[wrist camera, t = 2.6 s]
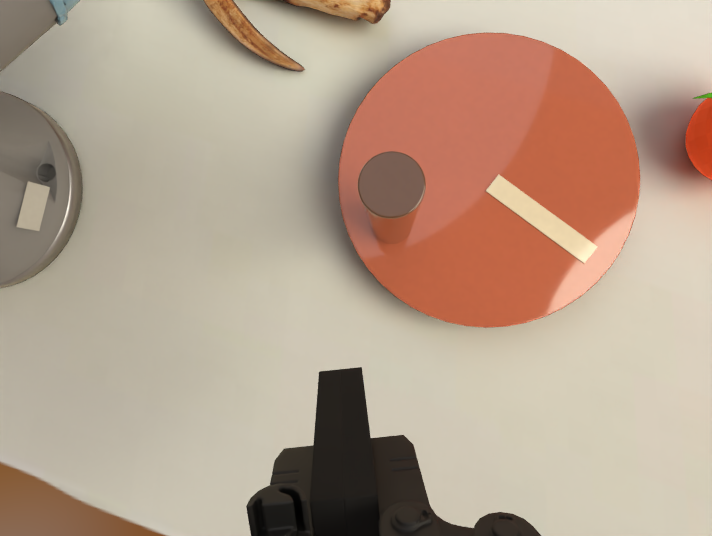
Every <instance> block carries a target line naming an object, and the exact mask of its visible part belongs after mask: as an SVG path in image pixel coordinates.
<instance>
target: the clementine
mask: <svg viewBox="0 0 712 536" xmlns="http://www.w3.org/2000/svg"><path fill="white" fill-rule="evenodd" d="M697 98H707V99H705V100H704V101H703V102H702V103H701V104H700V105H699V106H698V108H697V109H696V111H695V113H694V114H693V116H692V117H691V120H690V122H689V125H688V128H687V131H686V145H685V146H686V149H687V153H688V157H689V158H690V160H691V162H692V164H693V165H694V167H695V168H696V169H697V170H698V171H699V172H700V173H701V174H702V175H704V176H705V177H707V178H709V179H711V180H712V93H708V94H705V95H702V96H699V97H695V98H693V99H697Z"/></svg>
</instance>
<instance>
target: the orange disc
mask: <svg viewBox="0 0 712 536" xmlns="http://www.w3.org/2000/svg"><path fill="white" fill-rule="evenodd" d="M639 187H640V170H639V158H638V153H637V149H636V144H635V140H634V136H633V134H632V131H631V128H630V126H629V123H628V120H627V118H626V116H625V114H624V112H623V111H622V109H621V107H620V105H619V103H618V102H617V100H616V99H615V97H614V96H613V95H612V93H611V92H610V91H609V89H608V88H607V86H606V85H605V84H604V83H603V82H602V81H601V80H600V79H599V78H598V77H597V76H596V75H595V74H594V73H593V72H592V71H591V70H590V69H588V68H587V67H586V66H585V65H583V64H582V63H581V62H580V61H578V60H577V59H575V58H574V57H572V56H570V55H569V54H567V53H565V52H564V51H562V50H560V49H558V48H556V47H554V46H551V45H549V44H547V43H544V42H542V41H538V40H535V39H532V38H528V37H525V36H519V35H513V34H506V33H476V34H466V35H461V36H457V37H453V38H448V39H445V40H442V41H439V42H437V43H434V44H431V45H428V46H426V47H425V48H423V49H421V50H419V51H417V52H415V53H413V54H411V55H409V56H408V57H407V58H405V59H404V60H402V61H401V62H399V63H398V64H396V65H395V66H394V67H393V68H392V69H390V70H389V71H388V72H387V73H386V74H385V75H384V76H383V77H381V78H380V80H379V81H378V82H377V83H376V84H375V85H374V86H373V88H372V89H371V90H370V91H369V92H368V94H367V95H366V97H365V98H364V100H363V101H362V103H361V104H360V106H359V107H358V109H357V111H356V113H355V115H354V117H353V119H352V121H351V123H350V125H349V128H348V131H347V133H346V136H345V139H344V142H343V146H342V151H341V156H340V161H339V174H338V188H339V201H340V206H341V211H342V216H343V220H344V223H345V226H346V229H347V232H348V235H349V237H350V239H351V241H352V243H353V245H354V247H355V250H356V252H357V253H358V255H359V256H360V258H361V259H362V261H363V262H364V264H365V265H366V267H367V268H368V270H369V271H370V272H371V273H372V274H373V275H374V277H375V278H376V279H377V280H378V281H379V282H380V283H381V284H382V285H383V286H384V287H385V288H386V289H387V290H389V291H390V292H391V293H392V294H393V295H394V296H395V297H397V298H398V299H400V300H401V301H403V302H404V303H406V304H407V305H409V306H410V307H412V308H414V309H416V310H418V311H420V312H422V313H424V314H426V315H428V316H431V317H434V318H437V319H440V320H443V321H445V322H449V323H454V324H459V325H464V326H472V327H485V328H488V327H506V326H512V325H517V324H522V323H527V322H530V321H533V320H536V319H539V318H542V317H545V316H547V315H550V314H552V313H554V312H556V311H558V310H560V309H562V308H564V307H566V306H567V305H569V304H570V303H572V302H573V301H575V300H576V299H578V298H579V297H581V296H582V295H583V294H584V293H585V292H587V291H588V290H589V289H590V288H591V287H592V286H594V285H595V284H596V283H597V282H598V280H599V279H600V278H601V277H602V276H603V275H604V274H605V273H606V272H607V270H608V269H609V268H610V266H611V265H612V264H613V262H614V261H615V259H616V258H617V256H618V255H619V253H620V251H621V249H622V247H623V245H624V243H625V241H626V239H627V237H628V235H629V233H630V230H631V227H632V224H633V221H634V218H635V214H636V209H637V204H638V199H639Z"/></svg>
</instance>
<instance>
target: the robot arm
mask: <svg viewBox="0 0 712 536" xmlns="http://www.w3.org/2000/svg"><path fill="white" fill-rule="evenodd" d="M79 1H80V0H0V72H1V71H2V70H3V69H4V68H5V67H7V66H8V65H9V64H10V63H11V62H12V61H13V60H15V59H16V58H17V57H18V56H19V55H20V54H21V53H23V52H24V51H25V50H26V49H27V48H28V47H29V46H31V45H32V44H33V43H34V42H35V41H36V40H37V39H39V38H40V37H41V36H42V35H43V34H44V33H45V32H47V31H48V30H49V29H50V28H51V27H52V26H53V25H55V24H56V23H57V24H59V25H62V24H63V23H64V22H66V20H67V13H68V12H69V11H70V10H71V9H72V8H73V7H74V6H75V5H76V4H77V3H78V2H79ZM81 201H82V176H81V170H80V165H79V161H78V158H77V155H76V152H75V150H74V148H73V146H72V144H71V142H70V140H69V138H68V137H67V135H66V134H65V132H64V131H63V130H62V128H61V127H60V126H59V125H58V124H57V123H56V122H55V121H54V120H53V119H52V118H51V117H50V116H49V115H48V114H46V113H45V112H43V111H42V110H41V109H39V108H37V107H35V106H34V105H32V104H30V103H28V102H26V101H24V100H22V99H20V98H17V97H15V96H13V95H10V94H7V93H4V92H0V288H3V287H8V286H12V285H15V284H18V283H20V282H23V281H25V280H27V279H29V278H31V277H33V276H34V275H36V274H37V273H39V272H40V271H42V270H43V269H44V268H45V267H47V266H48V265H49V264H50V263H51V262H52V261H53V260H54V259H55V258H56V257H57V256H58V255H59V253H60V252H61V251H62V249H63V248H64V247H65V245H66V244H67V242H68V240H69V238H70V237H71V235H72V233H73V230H74V228H75V226H76V223H77V220H78V217H79V212H80V208H81ZM272 474H273V475H272V477H271V482H270V486H267V487H266V488H264V489H262V490H260V491H258V492H257V493H256V494H255V495H254V496H253V497H251V499H250V501H249V502H248V504H247V506H246V507H247V513H248V519H249V525H250V531H251V536H541V535H540V534H539V533H538V532H537V530H536V529H535V528H534V527H533V526H532V525H531V524H529V523H528V522H527V521H526V520H525V519H523V518H521V517H518V516H516V515H514V514H510V513H503V512H498V513H491V514H487V515H486V516H484V517H482V518H480V519H479V520H478V522H477V523H476V524H475V527H474V528H468V527H461V526H457V525H453V524H450V523H448V522H446V521H443V520H442V519H441V518H439V517H438V516H437V515H436V514H435V513H434V511H433V510H432V509H431V507H430V505H429V501H428V497H427V494H426V490H425V486H424V483H423V479H422V475H421V472H420V468H419V464H418V461H417V458H416V453H415V449H414V446H413V444H412V443H411V442H410V441H409V440H408V439H407V438H406V437H405V436H404V435H399V436H389V437H380V438H370V431H369V423H368V415H367V407H366V399H365V391H364V383H363V375H362V367H360V368H350V369H340V370H331V371H321V372H319V382H318V395H317V408H316V422H315V435H314V446H306V447H296V448H287V449H284V450H283V451H282V452H281V453H280V455H279V456H278V457H277V458H276V460H275V462H274V467H273V472H272Z"/></svg>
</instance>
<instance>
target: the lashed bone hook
mask: <svg viewBox="0 0 712 536" xmlns="http://www.w3.org/2000/svg"><path fill="white" fill-rule="evenodd" d="M203 1H204V2H205V4H206V5H207V7H208V8H209V9H210V11H211V12H212V13H213V14H214V16H215V17H216V18H217V19H218V21H219V22H220V23H221V24H222V25H223V26H224V27H225V28H226V29H227V30H228V31H229V33H230V34H231V35H232V36H233V37H234V38H236V39H237V40H238V41H239V42H240V43H241V44H242V45H244V46H245V47H246V48H247V49H249V50H250V51H252V52H253V53H255V54H256V55H258V56H260V57H261V58H263V59H265V60H267V61H269V62H271V63H273V64H276V65H278V66H281V67H284V68H287V69H291V70H296V71H303V70H305V69H304V68H303V67H302V66H301V65H300V64H299V63H297V62H296V61H294V60H293V59H291V58H290V57H288V56H287V55H285V54H284V53H283V52H281V51H280V50H279V49H278V48H277V47H275V46H274V45H273V44H272V43H271V42H269V41H268V40H267V39H266V38H265V37H264V36H263V35H262V34H261V33H260V32H259V31H258V30H257V29H256V28H255V27H254V26H253V25H252V24H251V22H250V21H249V20H248V19H247V18H246V16H245V15H244V14H243V13H242V11H241V10H240V9H239V8H238V6H237V5H236V4H235V2H234V1H233V0H203ZM283 1H284V2H287V3H290V4H293V5H295V6H307V7H310V8H313V9H317V10H320V11H322V12H325V13H328V14H331V15H338V16H341V17H344V18H349V19H352V20H356V21H357V20H359V19H360V18H363V19H365V20H367V21H369V22H370V23H373V24H375V23H378V22H379V21H380V20H381V18H382V17H383V15H384V14H385V13H386V12H387V11H388V10H389V8H390V2H391V1H390V0H283Z"/></svg>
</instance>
